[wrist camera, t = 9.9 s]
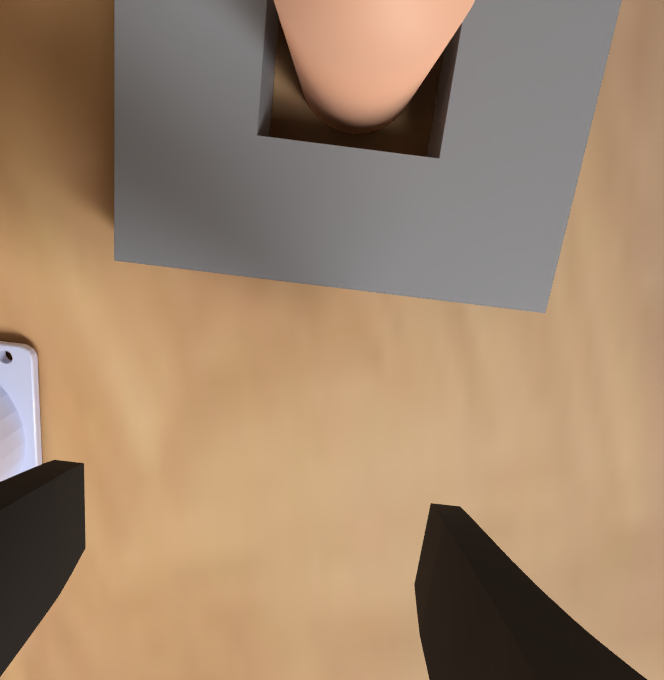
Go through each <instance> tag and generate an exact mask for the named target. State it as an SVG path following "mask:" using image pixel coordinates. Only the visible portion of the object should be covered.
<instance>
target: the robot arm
mask: <svg viewBox="0 0 664 680" xmlns="http://www.w3.org/2000/svg"><path fill="white" fill-rule="evenodd" d="M6 351H8V352H9V353H10V354H11V355H12V358H13V359H12V360H9V359H8V358H7V357H6V354H5V353H6ZM84 550H85V499H84V463H76V462H68V461H59V460H53V461H50V462H47V463H44V464H42V450H41V427H40V405H39V382H38V360H37V354H36V352H35V350H34V349H33V348H32V347H30V346H29V345H26V344H21V343H13V342H5V341H0V677H1V675H2V674H3V672H4V671H5V670H6V668H7V667H8V666H9V664H10V663H11V661H12V660H13V659H14V657H15V656H16V655H17V653H18V652H19V651H20V649H21V648H22V646H23V645H24V644H25V642H26V641H27V640H28V638H29V637H30V635H31V634H32V633H33V631H34V630H35V628H36V627H37V626H38V624H39V623H40V622H41V620H42V619H43V617H44V616H45V615H46V613H47V612H48V610H49V609H50V608H51V606H52V605H53V603H54V602H55V600H56V599H57V598H58V596H59V595H60V593H61V591H62V589H63V588H64V586H65V584H66V582H67V581H68V579H69V577H70V576H71V574H72V572H73V570H74V568H75V566H76V564H77V563H78V561H79V559H80V557H81V555H82V553H83V551H84ZM415 595H416V605H417V615H418V623H419V632H420V638H421V643H422V647H423V652H424V656H425V661H426V665H427V670H428V674H429V679H430V680H647V679H646V678H644V677H643V676H642V675H640V674H639V673H638V672H637V671H635V670H634V669H633V668H631V667H630V666H629V665H628V664H626V663H625V662H624V661H623V660H621V659H620V658H619V657H618V656H616V655H615V654H614V653H613V652H612V651H610V650H609V649H608V648H607V647H605V646H604V645H603V644H602V643H600V642H599V641H598V640H597V639H595V638H594V637H593V636H592V635H591V634H590V633H588V632H587V631H586V630H585V629H584V628H583V627H581V626H580V625H579V624H578V623H577V622H576V621H574V620H573V619H572V618H571V617H570V616H569V615H568V614H567V613H566V612H565V611H564V610H562V609H561V608H560V607H559V606H558V605H557V604H556V603H555V602H554V601H553V600H552V599H550V598H549V597H548V596H547V595H546V594H545V593H544V592H543V591H542V590H541V589H540V588H539V587H538V586H537V585H536V584H535V583H534V582H533V581H532V580H531V579H530V578H529V577H528V576H527V575H526V574H525V573H524V572H523V571H522V570H521V569H520V568H519V567H518V566H517V565H516V564H515V563H514V562H513V561H512V560H511V559H510V558H509V557H508V556H507V555H506V554H505V553H504V552H503V551H502V550H501V549H500V548H499V547H498V546H497V545H496V544H495V542H494V541H493V540H492V539H491V538H490V537H489V536H488V535H487V534H486V533H485V532H484V531H483V530H482V529H481V528H480V527H479V525H478V524H477V523H476V522H475V521H474V520H473V519H472V518H471V517H470V516H469V515H468V514H467V513H466V512H465V511H464V510H463V509H462V508H461V507H459V506H450V505H441V504H432V503H431V505H430V510H429V515H428V520H427V525H426V530H425V535H424V540H423V545H422V550H421V555H420V560H419V565H418V570H417V575H416V580H415Z"/></svg>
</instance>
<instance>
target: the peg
mask: <svg viewBox="0 0 664 680" xmlns="http://www.w3.org/2000/svg"><path fill="white" fill-rule="evenodd" d="M474 1H475V0H274V3H275V6H276V9H277V12H278V16H279V19H280V22H281V25H282V28H283V31H284V34H285V38H286V41H287V44H288V47H289V50H290V53H291V57H292V60H293V63H294V66H295V69H296V72H297V76H298V79H299V82H300V85H301V88H302V91H303V94H304V97H305V99H306V101H307V103H308V104H309V106H310V108H311V109H312V110H313V112H314V113H315V114H316V115H317V116H318V117H319V118H320V119H321V120H322V121H323V122H325V123H326V124H327V125H329V126H331V127H333V128H335V129H337V130H340V131H342V132H347V133H354V134H361V133H368V132H373V131H376V130H378V129H381V128H383V127H384V126H386V125H388V124H389V123H391V122H392V121H393V120H395V119H396V118H397V117H398V116H399V115H400V114H401V113H402V111H403V110H404V109H405V107H406V106H407V104H408V103H409V101H410V100H411V98H412V97H413V95H414V94H415V92H416V91H417V89H418V88H419V86H420V85H421V83H422V82H423V80H424V79H425V77H426V76H427V74H428V73H429V71H430V70H431V68H432V67H433V65H434V64H435V62H436V61H437V59H438V58H439V56H440V55H441V53H442V52H443V50H444V49H445V47H446V46H447V44H448V43H449V41H450V40H451V38H452V37H453V35H454V34H455V32H456V31H457V29H458V28H459V26H460V25H461V23H462V22H463V20H464V19H465V17H466V15H467V14H468V12H469V11H470V9H471V8H472V6H473V4H474Z"/></svg>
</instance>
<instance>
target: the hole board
mask: <svg viewBox="0 0 664 680" xmlns="http://www.w3.org/2000/svg"><path fill="white" fill-rule="evenodd" d="M621 1H622V0H475V1H474V4H473V6H472V8H471V9H470V11H469V12H468V14H467V15H466V17H465V19H464V20H463V22H462V23H461V25H460V26H459V28H458V29H457V31H456V32H455V34H454V35H453V37H452V38H451V40H450V41H449V43H448V44H447V46H446V47H445V49H444V53H443V59H442V65H441V71H440V77H439V83H438V89H437V96H436V102H435V108H434V114H433V120H432V126H431V133H430V139H429V145H428V151H427V157H423V156H415V155H407V154H399V153H392V152H384V151H376V150H368V149H360V148H352V147H344V146H337V145H329V144H321V143H313V142H305V141H297V140H289V139H281V138H274V137H270V125H271V112H272V100H273V87H274V75H275V62H276V50H277V37H278V25H279V16H278V12H277V9H276V6H275V3H274V0H114V261H123V262H131V263H139V264H147V265H155V266H164V267H172V268H180V269H188V270H196V271H204V272H213V273H221V274H229V275H237V276H245V277H254V278H262V279H270V280H278V281H286V282H294V283H303V284H311V285H319V286H327V287H335V288H344V289H352V290H360V291H368V292H376V293H384V294H393V295H401V296H409V297H417V298H425V299H433V300H442V301H450V302H458V303H466V304H474V305H483V306H491V307H499V308H507V309H515V310H523V311H532V312H540V313H545V312H546V308H547V304H548V300H549V296H550V292H551V288H552V284H553V280H554V275H555V271H556V267H557V263H558V259H559V255H560V251H561V247H562V243H563V239H564V234H565V230H566V226H567V222H568V218H569V214H570V210H571V206H572V202H573V198H574V193H575V189H576V185H577V181H578V177H579V173H580V169H581V165H582V161H583V157H584V152H585V148H586V144H587V140H588V136H589V132H590V128H591V124H592V120H593V115H594V111H595V107H596V103H597V99H598V95H599V91H600V87H601V83H602V79H603V74H604V70H605V66H606V62H607V58H608V54H609V50H610V46H611V42H612V38H613V33H614V29H615V25H616V21H617V17H618V13H619V9H620V5H621Z"/></svg>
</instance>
